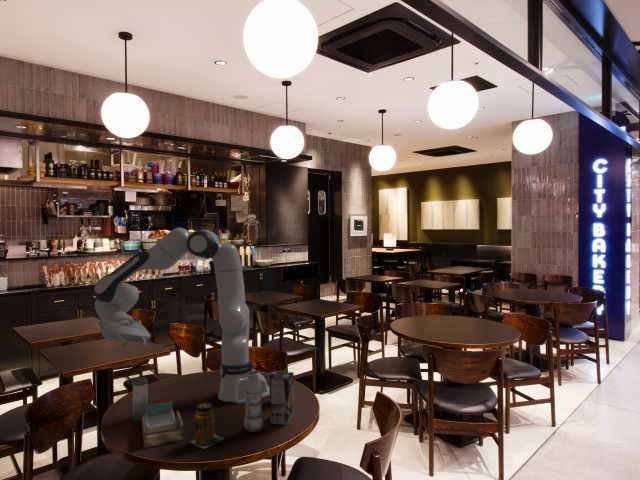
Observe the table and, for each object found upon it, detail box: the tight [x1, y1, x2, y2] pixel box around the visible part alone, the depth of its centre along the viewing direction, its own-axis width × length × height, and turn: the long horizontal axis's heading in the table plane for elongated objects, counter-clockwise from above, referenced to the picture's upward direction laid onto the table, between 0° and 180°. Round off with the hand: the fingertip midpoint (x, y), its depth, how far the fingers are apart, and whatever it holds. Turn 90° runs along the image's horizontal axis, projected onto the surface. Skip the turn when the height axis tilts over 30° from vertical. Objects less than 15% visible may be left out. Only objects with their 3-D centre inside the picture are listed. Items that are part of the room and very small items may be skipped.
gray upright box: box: [269, 369, 286, 402], centre depth 175 cm, size 7×7×12 cm
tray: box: [145, 401, 177, 434], centre depth 154 cm, size 10×13×6 cm
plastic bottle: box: [243, 370, 264, 433], centre depth 150 cm, size 6×7×20 cm
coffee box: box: [270, 371, 295, 426], centre depth 159 cm, size 9×6×16 cm
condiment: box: [190, 402, 225, 450], centre depth 143 cm, size 7×8×12 cm
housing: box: [141, 410, 185, 449], centre depth 146 cm, size 12×12×5 cm
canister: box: [132, 377, 149, 421], centre depth 161 cm, size 5×5×14 cm
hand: (134, 345), depth 168 cm, fingers open, 8 cm apart
